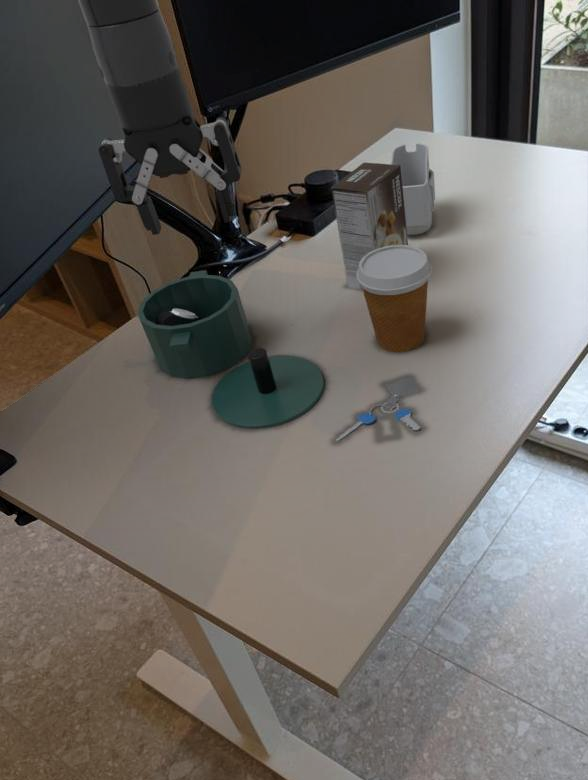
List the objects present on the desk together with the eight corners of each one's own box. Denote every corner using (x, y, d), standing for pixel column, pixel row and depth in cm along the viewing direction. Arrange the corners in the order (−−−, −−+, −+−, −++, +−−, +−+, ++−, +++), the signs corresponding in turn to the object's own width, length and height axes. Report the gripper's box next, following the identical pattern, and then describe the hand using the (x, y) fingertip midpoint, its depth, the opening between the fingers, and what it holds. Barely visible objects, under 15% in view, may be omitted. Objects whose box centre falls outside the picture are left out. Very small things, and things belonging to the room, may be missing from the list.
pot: (148, 399, 92) (124, 346, 86) (170, 323, 105) (151, 273, 99) (246, 386, 91) (229, 332, 85) (256, 311, 104) (242, 260, 98)
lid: (207, 439, 84) (191, 397, 79) (220, 369, 94) (206, 328, 90) (324, 424, 83) (315, 381, 78) (324, 355, 94) (316, 313, 89)
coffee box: (376, 262, 110) (364, 160, 99) (411, 268, 107) (402, 164, 96) (346, 290, 105) (329, 186, 94) (382, 297, 102) (368, 191, 91)
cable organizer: (396, 246, 113) (388, 173, 105) (399, 213, 122) (393, 143, 113) (436, 243, 112) (432, 168, 104) (437, 210, 121) (433, 139, 112)
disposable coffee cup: (354, 341, 95) (340, 262, 86) (409, 315, 98) (402, 235, 89) (392, 372, 89) (382, 289, 80) (450, 343, 92) (446, 260, 83)
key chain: (396, 377, 88) (395, 371, 87) (453, 393, 84) (452, 387, 83) (334, 443, 80) (333, 438, 80) (394, 464, 76) (393, 459, 76)
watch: (169, 314, 93) (155, 299, 94) (158, 343, 95) (144, 328, 96) (213, 319, 99) (199, 305, 100) (201, 346, 101) (188, 332, 102)
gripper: (214, 47, 70) (254, 202, 82) (80, 71, 71) (139, 221, 82) (206, 67, 65) (250, 229, 76) (62, 93, 66) (127, 250, 77)
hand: (192, 225), depth 79 cm, fingers open, 8 cm apart
